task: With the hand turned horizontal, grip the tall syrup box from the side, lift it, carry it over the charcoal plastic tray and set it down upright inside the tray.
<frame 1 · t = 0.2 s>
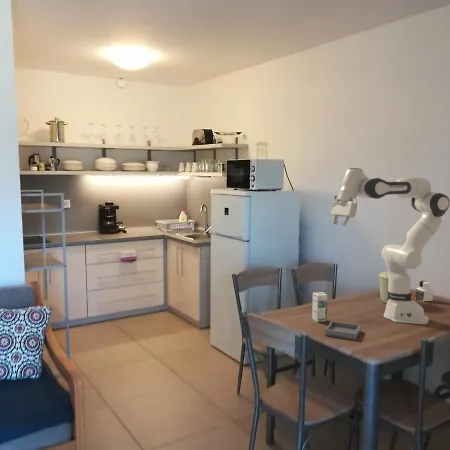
hand: (339, 224, 235), 51 cm above the table, tool tilted 15°, fingers open, 8 cm apart
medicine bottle: (423, 300, 286), on the table
syrup box: (319, 320, 244), on the table
canister: (392, 302, 280), on the table
tray: (342, 333, 224), on the table
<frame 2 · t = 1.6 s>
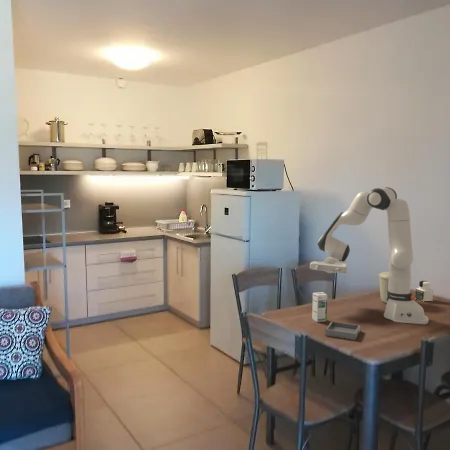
hand: (326, 269, 251), 25 cm above the table, tool horizontal, fingers open, 8 cm apart
nothing on the table moved.
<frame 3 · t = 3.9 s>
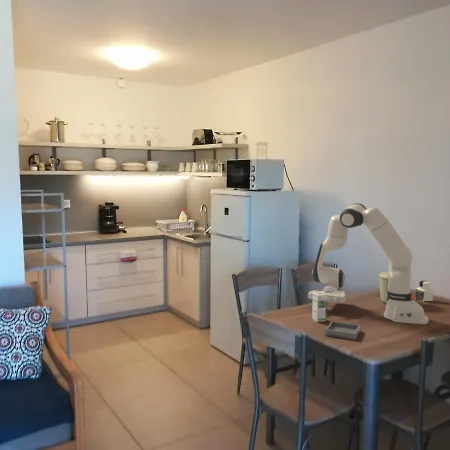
hand: (324, 299, 252), 8 cm above the table, tool horizontal, fingers open, 8 cm apart
nothing on the table moved.
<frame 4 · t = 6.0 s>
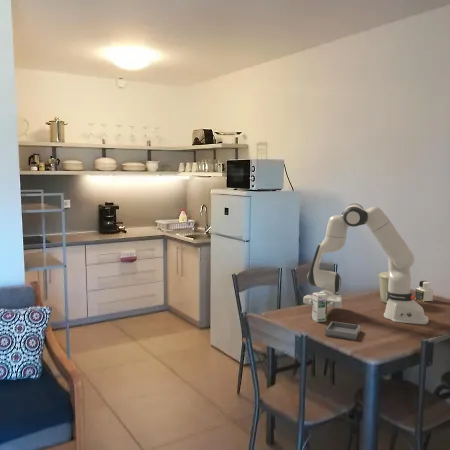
hand: (319, 304, 242), 9 cm above the table, tool horizontal, fingers closed on syrup box, 8 cm apart
syrup box: (319, 320, 244), on the table, touching gripper
everything else where it was.
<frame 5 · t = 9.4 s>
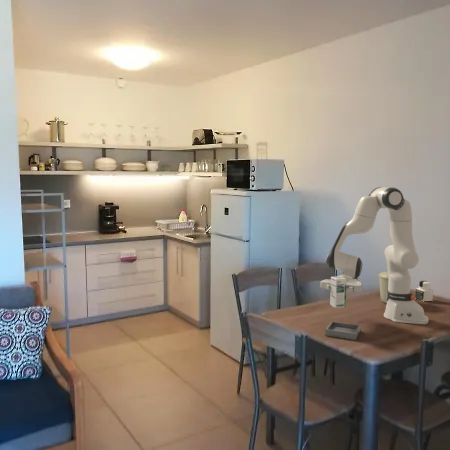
hand: (338, 289, 226), 21 cm above the table, tool horizontal, fingers closed on syrup box, 8 cm apart
syrup box: (337, 306, 228), point 12 cm above the table, touching gripper
everything else where it was.
when the fingers open (10 cm above the table, at t = 12.5 s): syrup box stays where it is, resting on tray.
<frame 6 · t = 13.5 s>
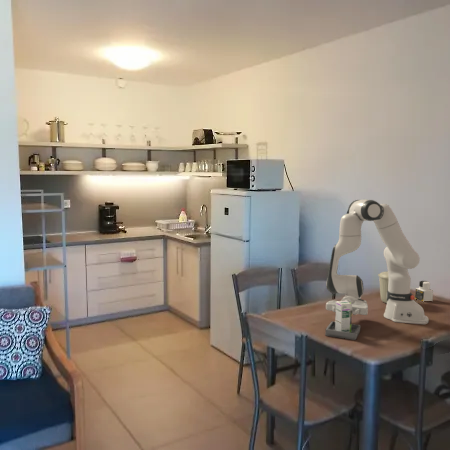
hand: (344, 311, 224), 10 cm above the table, tool horizontal, fingers open, 8 cm apart
syrup box: (342, 331, 224), point 1 cm above the table, touching tray
everything else where it was.
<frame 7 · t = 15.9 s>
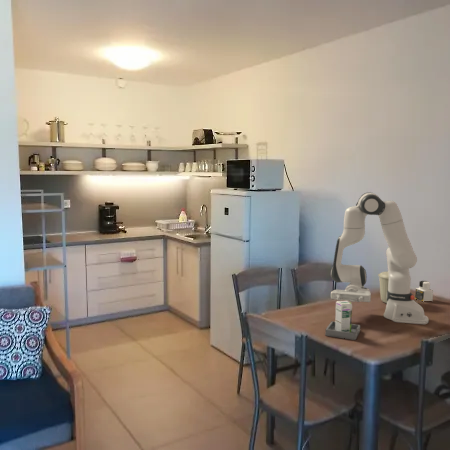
hand: (348, 299, 235), 13 cm above the table, tool horizontal, fingers open, 8 cm apart
nothing on the table moved.
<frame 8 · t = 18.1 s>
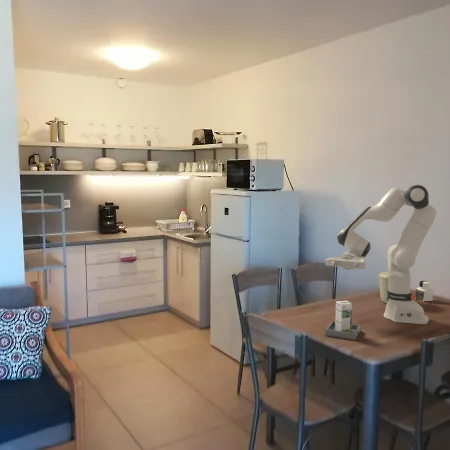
hand: (343, 265, 237), 30 cm above the table, tool horizontal, fingers open, 8 cm apart
nothing on the table moved.
at the end: syrup box inside the target area on the tray (0.0 cm from its centre), point 0.8 cm above the tray's base; syrup box tilted 0°; the gripper is holding nothing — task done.
